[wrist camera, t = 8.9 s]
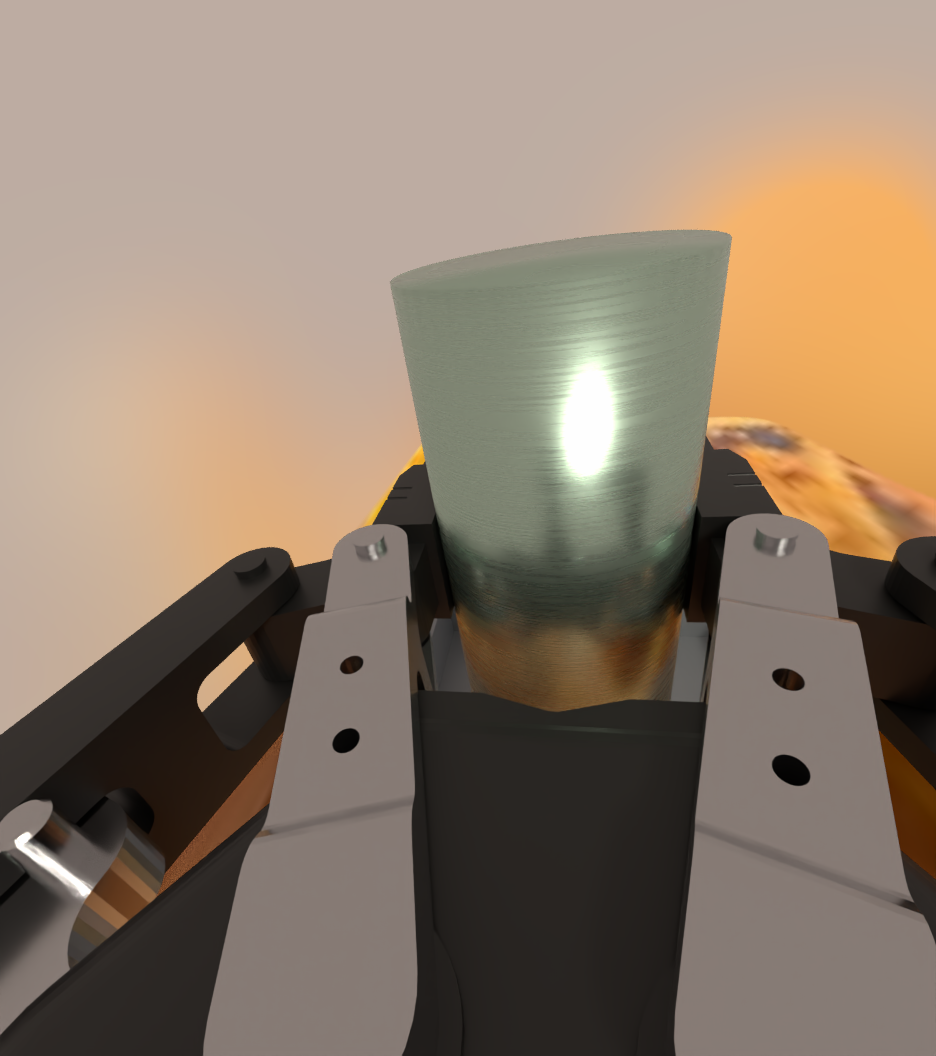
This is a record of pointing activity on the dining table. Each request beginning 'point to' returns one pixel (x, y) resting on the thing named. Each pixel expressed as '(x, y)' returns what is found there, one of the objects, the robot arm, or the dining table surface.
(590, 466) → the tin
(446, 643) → the tote
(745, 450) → the dining table surface
